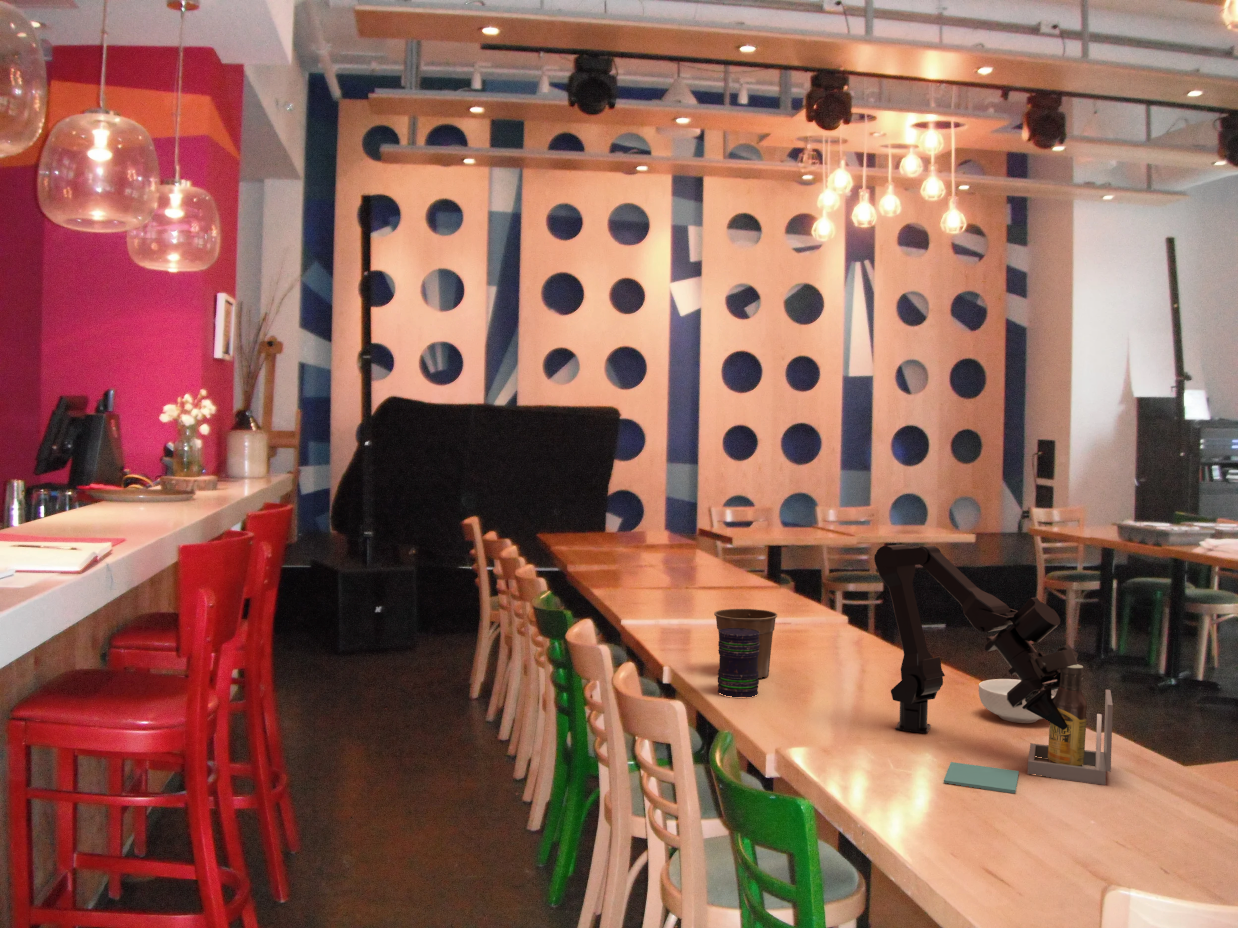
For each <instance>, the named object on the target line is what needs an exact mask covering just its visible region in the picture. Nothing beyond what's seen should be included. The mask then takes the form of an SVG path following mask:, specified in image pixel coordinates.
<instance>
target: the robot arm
mask: <svg viewBox="0 0 1238 928" xmlns="http://www.w3.org/2000/svg"><path fill="white" fill-rule="evenodd" d="M873 560H874V564H875V567H876V570H877V573H878V575H879V577H880V578H881V580H882V581H883V582H884V583H885V585H886V586H887V588H888V590H889V593H890V594H889V595H890V598H891V601H892V602H891V603H892V606H893V611H894V615H895V620H896V624H897V628H898V632H899V633H898V634H899V638H900V643H901V647H902V651H903V657H902V662H901V666H900V677H901V680H900V681H899V682H898V683H897V684H895V686H894V687H893V688H892V689H890V694H891V697H892V701H895V702H899V716H898V717H899V721H898V722H897V724H896V726H895V730H896V731H904V732H911V733H919V734H928V733H929V731H930V728H932V727H931V726H932V725H931V724H930V723H928V709H929V708H928V706H929V705H928V704H929V701H930V700H935V699H936V696H937V694H938V693H939V691H940V690H941V688H942V686H943V685H944V677H945V676H946V675H945V673H944V671H943V668H942V661H941V657H939V656H936V657H933V656H932V654H931V653H930V651H929V650H928V648H927V647H928V646H927V643H926V638H925V634H924V630H923V626H922V622H921V617H920V613H919V608H918V603H917V600H916V599H917V598H916V595H915V591H914V587H913V585H914V584H913V583H914V582H913V581H914V578H915V574H916V566H921V567H922V568H924V570H925V571H927V572H928V573H929V575H930V576H931V577H932V578H933V579H935V580H936V581H937V583H939V584H940V585H941V586H942V587H943V588H944V589H945V590H946V591H947V592H948V593H949V594H950V595H951V596H952V597H953V598H954V599H955V600H956V601H957V602H958V603H959V605H961V607H962V610H963V614H964V616H965V618H967V621H969V623H970V624H971V625H972V627H973V628H974V629H975V630H977V631H978V632H981V633H989V632H995V631H998V632H997V633H996V634H995V635H991V636H986V638H985V641H986V642H985V645H984V651H986V652H990V651H996V650H997V651H998V652H999V654H1001V656H1002V657H1003V659H1004V660H1005V662H1006V663H1007V664H1008V666H1009V667H1010V669H1008V673H1009V674H1010V675H1011V676H1013V675H1016V676H1017V677H1018V680H1021V682H1019V683H1018V684H1017V685H1016V686H1015V687H1013V688H1012V689H1011V690H1010V691H1009V692H1008V693H1007V701H1008V702H1009V703H1010V705H1011V706H1012V707H1013V708H1015V707H1019V706H1021V705H1022V701H1023V700H1024V699H1025V701H1026V704H1025V705H1024V706H1023V707H1022V708H1023V709H1026V710H1028V711H1030V712H1032V713H1034V714H1036V715H1038V716H1040V717H1042V718H1043V720H1045V721H1047V722H1049V724H1050V723H1052V724H1054V725H1055V726H1057V727H1059V728H1061V729H1062V730H1065V729H1066V728H1067V727H1068V726H1067V724H1066V722H1065V720H1064V718H1063V717H1062V715H1061V714H1060V712H1059V711H1058V709H1057V707H1056V706H1055V704H1054V703H1053V700H1054V698H1055V695H1056V693H1057V690H1058V688H1059V684H1060V674H1061V672H1060V669H1063V668H1066V667H1068V666H1071V665H1077V664H1079V663H1078V657H1079V653H1078V652H1077V651H1075V649H1074V648H1072V647H1071V646H1070V645H1069V644H1067V645H1063V646H1059V647H1057V651H1056V652H1053V653H1050V654H1046V653H1045V652H1044V651H1042V650H1039V651H1037V650H1036V649H1035V648H1034V646H1033V645H1032V643H1030V642H1034V643H1039V642H1041V641H1042V640H1043V639H1044V638H1045V637H1046V636H1048V635H1049V634H1050V633H1051V632H1052V631H1053V630H1054V629H1056V628H1057V627H1058V626H1059V625H1060V624H1061V618H1060V616H1059V615H1058V613H1057V611H1055V609H1054V608H1052V607H1050V606H1049V605H1048V604H1046V603H1045V602H1042V601H1040V599H1039V598H1038V597H1031V598H1030V599H1028V600H1027V601H1026V603H1025V604H1024V605H1023V606H1022V607H1021V608H1020V609H1019V610H1016V609H1012V608H1010V606H1008V604H1006V603H1005V602H1003V601H1002V600H1000V599H999V598H998V597H996V596H995V595H993V594H991V593H988V592H986V591H984V590H982V589H981V588H979V587H977V585H976V584H974V582H972V580H970V578H968V577H967V576H966V575H965V574H964V573H963V572H962V571H961V570H960V569H959V568H958V567H956V566H955V565H954V563H952V562H951V561H950V560H949V559H948V558H947V557H946V556H945V555H944V554H943V553H942V551H941V550H940V549H939V548H938V547H937V546H935V545H924V546H923V545H921V546H918V547H914V548H913V547H912V548H910V547H909V546H908V545H906V544H894V545H893V544H892V545H891V544H890V545H883V546H880V547H878V549H877V550H876V553H875V554H874V557H873ZM1010 625H1011V626H1010ZM1008 626H1009V628H1008V629H1006V628H1007V627H1008ZM1084 678H1085V677H1084V676H1083V675H1082V680H1083V679H1084ZM1052 696H1054V698H1052Z"/></svg>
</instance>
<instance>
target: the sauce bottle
mask: <svg viewBox="0 0 1238 928" xmlns="http://www.w3.org/2000/svg"><path fill="white" fill-rule="evenodd" d="M1059 670H1060V672H1061V674H1060V684H1059V688H1058V690H1057V693H1056V695H1055V698H1054V700H1053V703H1054V704H1055V706H1056V707H1057V709H1058V711H1059V712H1060V714H1061V715H1062V717H1063V718H1064V720H1065V722H1066V724H1067V726H1068V727H1067V728H1066V729H1065V730H1062V729H1061V728H1059V727H1057V726H1055V725H1054V724H1052V723H1050V722H1049V730H1048V731H1049V732H1048V744H1047V745H1048V759H1047V762H1050V763H1058V764H1065V765H1073V766H1081V767H1084V766H1083V765H1085V764H1084V751H1085V750H1086V748H1085V747H1086V732H1087V730H1086V729H1087V721H1088V720H1087V710H1088V709H1087V707H1088V706H1087V705H1088V702H1087V699H1086V697H1085V696H1084V694H1083V690H1082V688H1083V686H1082V681H1083V679H1082V676H1083V674H1084V666H1083V665H1081V664H1079V663H1078V664H1077V665H1071V666H1068V667H1066V668H1063V669H1059Z"/></svg>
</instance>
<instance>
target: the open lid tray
mask: <svg viewBox="0 0 1238 928" xmlns="http://www.w3.org/2000/svg"><path fill="white" fill-rule="evenodd" d="M1104 698H1105V699H1104V700H1105V704H1104V732H1103V733H1104V734H1103V738H1104V739H1103V751H1102V729H1103V727H1102V723H1103V722H1102V720H1103V714H1101V713H1097V714H1096V734H1095V737H1096V738H1095V739H1096V741H1095V742H1096V743H1095V750H1089V749H1085V751H1084V764H1083V765H1087V764H1088V765H1089V766H1094V765H1095V766H1094V767H1086V766H1083V767H1081V766H1073V765H1065V764H1058V763H1050V762H1048V761H1041V760H1036V758H1035V756H1037V757H1042V758H1048V745H1049V744H1041V743H1040V744H1039V743H1032V742H1031V743H1030V745H1029V751H1028V758H1027V759H1028V760H1027V775H1028V774H1036V775H1042V776H1046V777H1045V778H1049V777H1051V778H1050V779H1056V778H1057V780H1065V781H1072V782H1078V781H1080V783H1081V782H1082V783H1086V784H1087V783H1088V784H1094V785H1095V784H1096V785H1102V786H1106V779H1107V778H1106V777H1107V776H1106V775H1107V772H1108V773H1111V772H1112V747H1113V746H1112V745H1113V744H1112V740H1113V714H1114V713H1113V712H1114V711H1113V710H1114V707H1113V706H1114V705H1113V698H1112V693H1111V689H1105V697H1104ZM1088 765H1087V766H1088Z"/></svg>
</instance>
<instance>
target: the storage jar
mask: <svg viewBox="0 0 1238 928" xmlns="http://www.w3.org/2000/svg"><path fill="white" fill-rule="evenodd" d="M719 635H720V636H719ZM717 646H718V650H717V651H718V655H719V662H718V663H719V664H718V665H719V666H718V667H719V668H718V670H717V671H718V672H717V683H718V684H717V687H718V688H717V693H718V692H719V693H721V694H723V695H726V696H732V697H752V696H755V695H757V694H758V695H759V691H758V689H759V684H760V679H758V676H759V672H758V656H759V648H760V643H759V631H757V630H753V629H747V628H725V629H720V630H719V632H718V645H717ZM752 698H753V697H752Z"/></svg>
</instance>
